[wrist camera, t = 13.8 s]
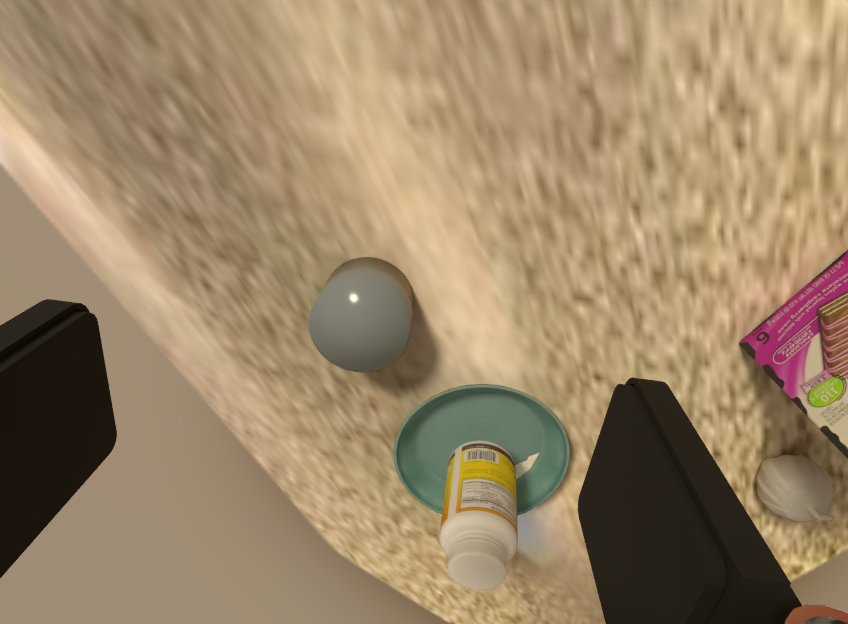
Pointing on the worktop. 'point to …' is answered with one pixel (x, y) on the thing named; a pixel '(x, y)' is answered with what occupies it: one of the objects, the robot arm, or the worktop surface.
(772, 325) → the candy bar box
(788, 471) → the garlic
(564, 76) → the worktop surface
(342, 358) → the grey short cylinder
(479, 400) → the saucer
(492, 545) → the supplement bottle
